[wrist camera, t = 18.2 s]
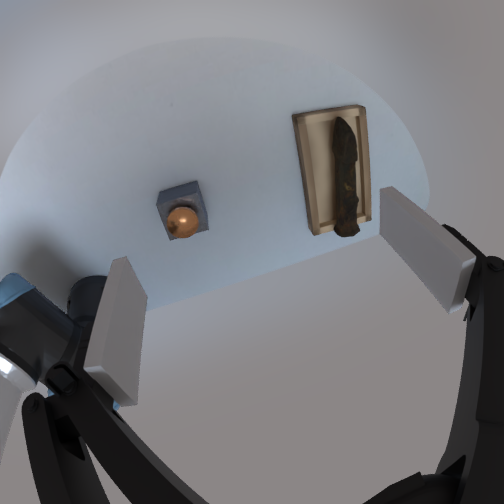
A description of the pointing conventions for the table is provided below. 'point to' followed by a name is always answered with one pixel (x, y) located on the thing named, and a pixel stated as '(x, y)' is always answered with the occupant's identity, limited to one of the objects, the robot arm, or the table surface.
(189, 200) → the socket block
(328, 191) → the tray
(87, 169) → the table surface
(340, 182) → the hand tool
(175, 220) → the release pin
